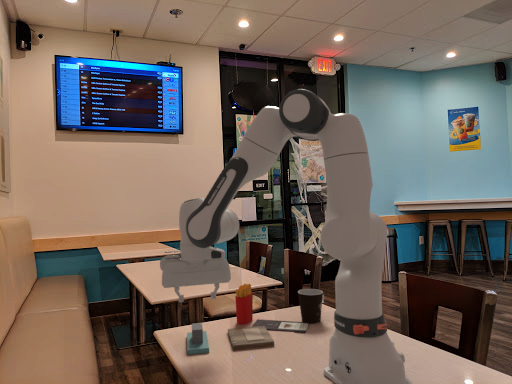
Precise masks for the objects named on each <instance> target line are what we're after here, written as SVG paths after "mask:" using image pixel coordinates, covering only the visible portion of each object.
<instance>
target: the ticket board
mask: <svg viewBox="0 0 512 384" xmlns="http://www.w3.org/2000/svg"><path fill="white" fill-rule="evenodd" d="M227 335H228V338H229V341H230V344H231V348H232V351H238V350H239V351H240V350H249V349H250V350H251V349H260V348H268V347H269V348H270V347H275V340H274V339H273V336H271V334H270V332H269V330H267V329H266V328H265V326H256V327H252V326H249V327H248V326H247V327H246V326H245V327H236V328H235V327H234V328H228V329H227Z"/></svg>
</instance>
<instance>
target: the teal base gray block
mask: <svg viewBox="0 0 512 384" xmlns="http://www.w3.org/2000/svg"><path fill="white" fill-rule="evenodd" d="M203 328H204V327H203V322H197V323H191V332H186V342H187V343H186V347H187V349H186V350H187V355H197V354H198V355H199V354H209V353H210V346H209V340H208V339H209V338H208V333H207V331H206V330H204V329H203ZM203 330H204V331H203Z"/></svg>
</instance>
